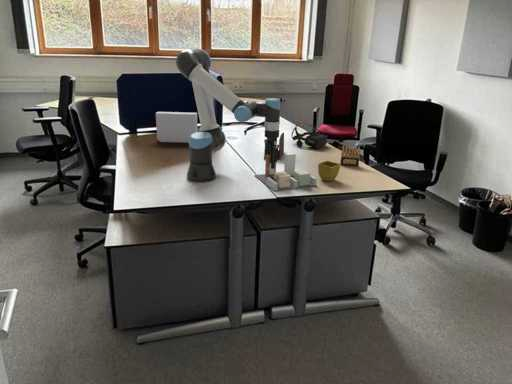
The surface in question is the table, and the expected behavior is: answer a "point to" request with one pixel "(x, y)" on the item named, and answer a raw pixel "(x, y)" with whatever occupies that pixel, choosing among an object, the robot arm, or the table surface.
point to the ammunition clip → (350, 157)
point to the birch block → (277, 175)
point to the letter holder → (281, 147)
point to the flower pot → (328, 170)
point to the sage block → (300, 176)
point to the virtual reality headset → (310, 138)
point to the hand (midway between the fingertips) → (270, 173)
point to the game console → (175, 126)
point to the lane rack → (293, 185)
